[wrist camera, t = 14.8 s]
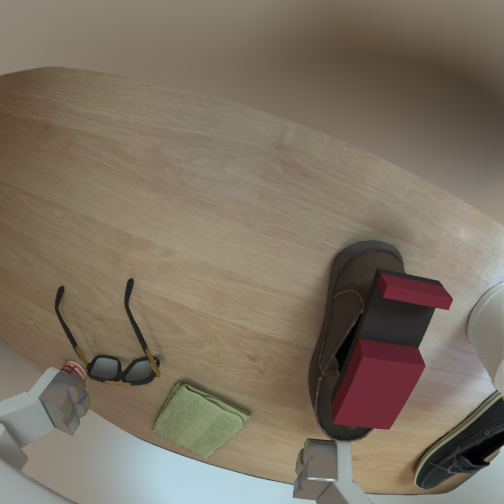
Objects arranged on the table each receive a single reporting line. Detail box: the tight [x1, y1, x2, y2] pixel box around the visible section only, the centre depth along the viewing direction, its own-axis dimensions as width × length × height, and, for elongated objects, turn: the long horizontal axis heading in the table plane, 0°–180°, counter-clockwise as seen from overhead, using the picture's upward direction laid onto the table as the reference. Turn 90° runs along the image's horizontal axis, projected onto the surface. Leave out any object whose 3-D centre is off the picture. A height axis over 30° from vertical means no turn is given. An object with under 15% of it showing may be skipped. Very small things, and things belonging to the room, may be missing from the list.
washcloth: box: [152, 382, 252, 458], centre depth 48 cm, size 13×18×3 cm
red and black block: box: [331, 268, 453, 429], centre depth 25 cm, size 14×6×4 cm, turn 172°
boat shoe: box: [413, 391, 504, 489], centre depth 40 cm, size 11×29×9 cm, turn 159°
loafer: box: [308, 241, 406, 442], centre depth 34 cm, size 11×30×11 cm, turn 6°
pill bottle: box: [61, 361, 87, 381], centre depth 47 cm, size 5×5×8 cm
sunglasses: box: [55, 278, 160, 386], centre depth 42 cm, size 14×15×5 cm
